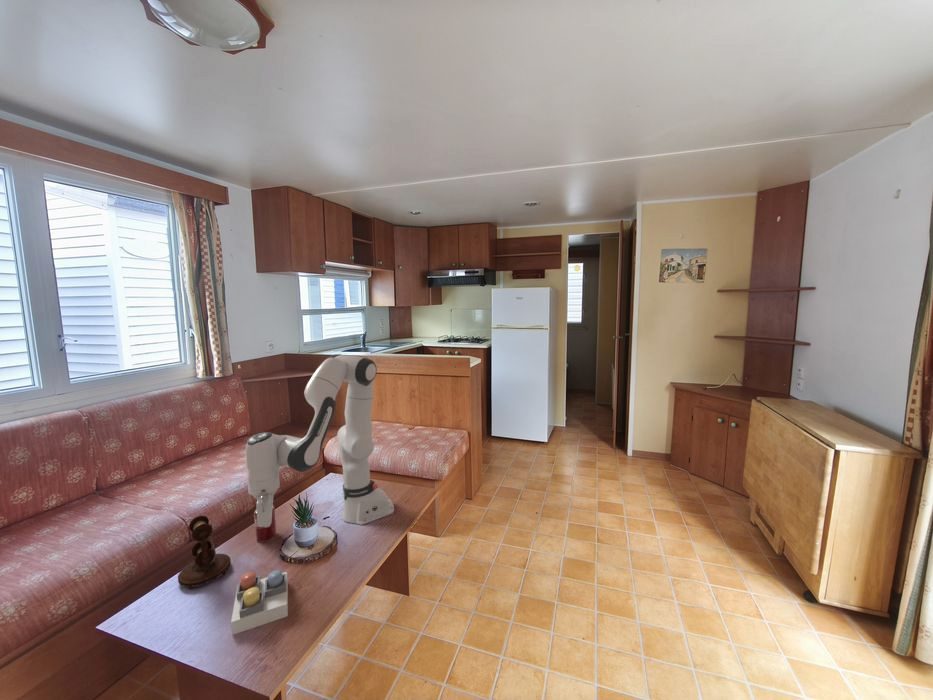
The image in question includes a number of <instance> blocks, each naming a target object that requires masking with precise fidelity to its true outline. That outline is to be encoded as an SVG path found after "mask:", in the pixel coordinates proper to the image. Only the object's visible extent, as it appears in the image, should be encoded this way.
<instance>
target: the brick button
mask: <svg viewBox="0 0 933 700" xmlns="http://www.w3.org/2000/svg"><path fill="white" fill-rule="evenodd" d="M256 576H257V575H256V572H254V571H247V572H245V573H243V575H241V576H240V577H239V578H240V580H239V581H241V589H242V590H248V589H250V588H253V587H254V586H255V585H256Z"/></svg>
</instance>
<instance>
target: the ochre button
mask: <svg viewBox="0 0 933 700" xmlns="http://www.w3.org/2000/svg"><path fill="white" fill-rule="evenodd" d="M243 598H244V606H245V607H252V606H254V605H256V604H257V603H258V602H259V601H260V594H259V588H257V587H253V588H250V589H248V590H246V591H245V592H244V594H243Z"/></svg>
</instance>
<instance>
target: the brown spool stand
mask: <svg viewBox="0 0 933 700" xmlns="http://www.w3.org/2000/svg"><path fill="white" fill-rule="evenodd" d="M188 529H189V530H190V532H192V533H191V537H192V539H193V540H194V541H196V543H195V544H194V545H193V547H192V548H191V555H192V556H193V557H194V560H193V561H192V562H190V563H188V564H187V565H186V566H184V567H183V568H182V569H181V570H180V572H179V573H178V575H177V581H178V584H179V585H180V586H183V587H187V588H188V589H189V590H192V589H193V587H197V586H202V585H205V584H208V583H210V582H212V581H215V580H217V578H220V576H222V575H223V576H224V575H226V573H227V570H228V569H229V568H230V566H231V563H232V562H231V557H230V556H229V555H228V554H225V553H217V552H216V547H215V543H214V538H213V535H212V533H213V526H212V525H211V524H210V520H209V518H208V517H207V516H206V515H199V516H196V517H194V518H193V519H192V520H191V521H190V523H189V525H188ZM208 538H210V541H209V540H208Z"/></svg>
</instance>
